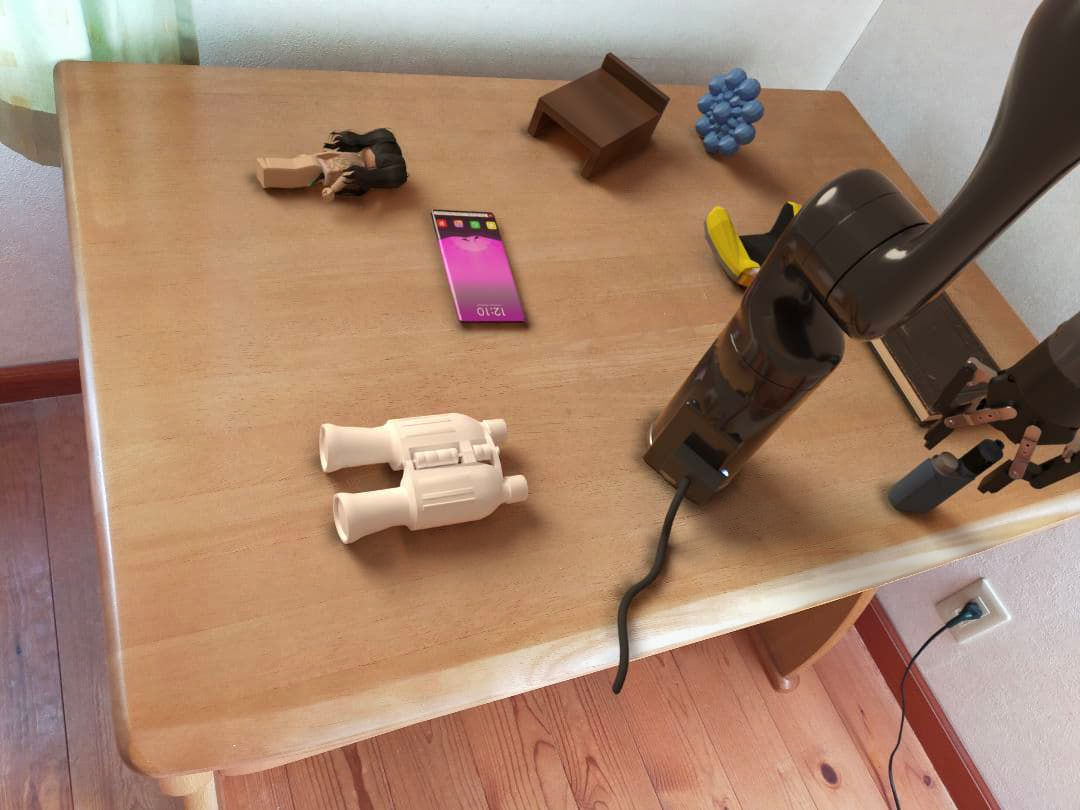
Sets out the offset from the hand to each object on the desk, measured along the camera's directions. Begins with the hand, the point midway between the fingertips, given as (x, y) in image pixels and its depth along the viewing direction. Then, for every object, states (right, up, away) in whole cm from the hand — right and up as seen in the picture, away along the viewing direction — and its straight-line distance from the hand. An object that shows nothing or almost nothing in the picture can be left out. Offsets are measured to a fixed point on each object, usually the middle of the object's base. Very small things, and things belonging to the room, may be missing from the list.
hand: (955, 464), depth 86 cm
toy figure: (-62, +29, +6) cm, 69 cm away
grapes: (-17, +40, +33) cm, 55 cm away
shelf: (-35, +40, +25) cm, 58 cm away
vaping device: (-2, -4, +6) cm, 8 cm away
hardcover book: (+5, +14, +22) cm, 27 cm away
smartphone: (-47, +20, +6) cm, 52 cm away
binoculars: (-51, -1, -11) cm, 52 cm away
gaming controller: (-15, +23, +21) cm, 35 cm away
